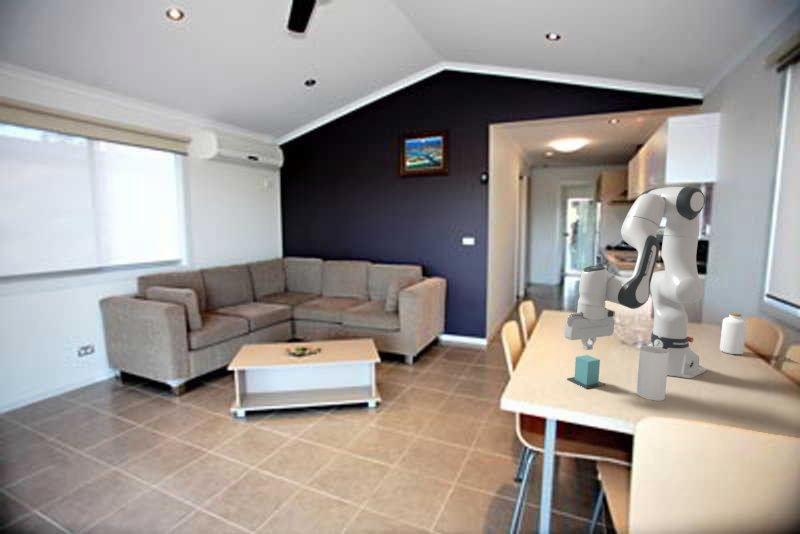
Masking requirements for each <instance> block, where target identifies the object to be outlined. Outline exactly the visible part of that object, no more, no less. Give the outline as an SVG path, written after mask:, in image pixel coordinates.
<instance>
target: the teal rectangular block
mask: <svg viewBox="0 0 800 534" xmlns="http://www.w3.org/2000/svg"><path fill="white" fill-rule="evenodd" d="M574 363H575V365H574V377H575V378H574V379H575V380H577V381H579V382H581V383H583V384H585V385H590V384H596V383H598V381H600V380H599V379H600V378H599V377H600V367H601V359H599V358H596V357H593V356H591V355H589V354H585V355H579V356H578V355H577V356H575V362H574Z"/></svg>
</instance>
